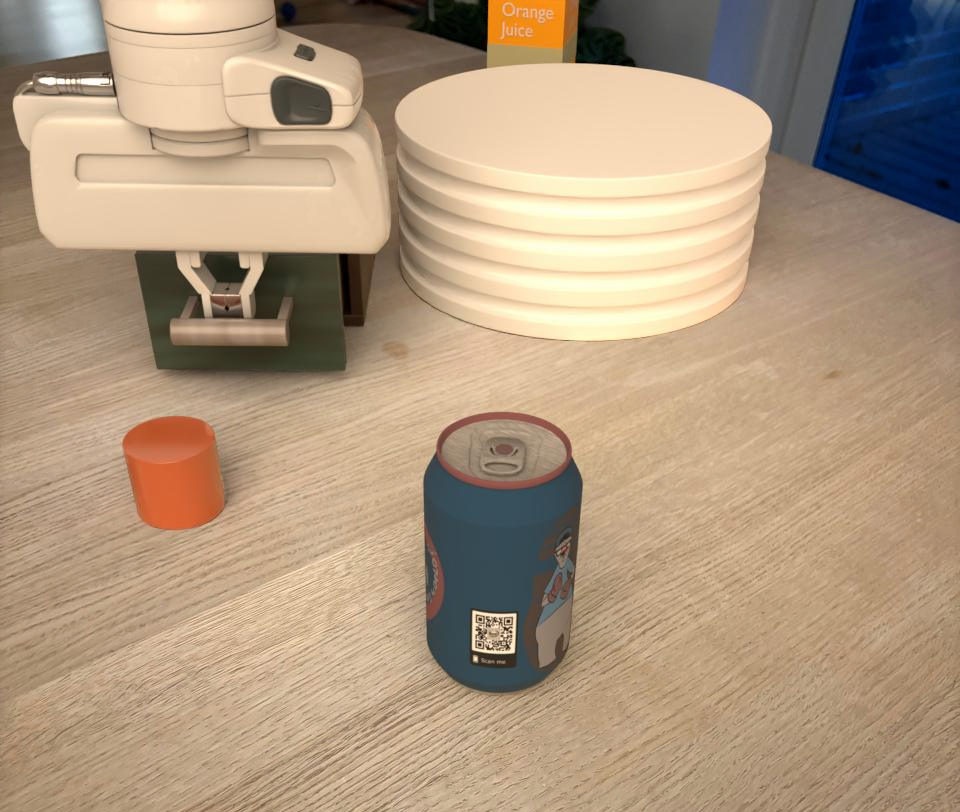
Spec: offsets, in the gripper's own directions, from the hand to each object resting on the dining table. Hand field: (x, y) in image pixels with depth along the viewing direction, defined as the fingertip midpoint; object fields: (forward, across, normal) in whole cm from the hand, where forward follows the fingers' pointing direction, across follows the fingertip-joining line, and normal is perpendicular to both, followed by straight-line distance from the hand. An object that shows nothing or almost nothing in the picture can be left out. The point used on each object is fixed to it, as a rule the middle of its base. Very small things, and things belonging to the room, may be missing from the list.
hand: (231, 316), depth 70 cm
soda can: (+6, +16, -25) cm, 30 cm away
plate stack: (+6, +23, +23) cm, 33 cm away
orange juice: (+6, +21, +59) cm, 63 cm away
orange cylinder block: (+6, -2, -12) cm, 13 cm away
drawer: (+5, 0, +7) cm, 9 cm away
